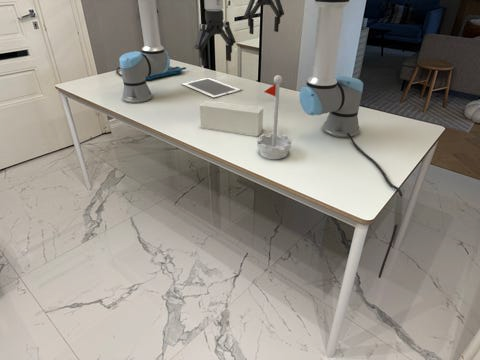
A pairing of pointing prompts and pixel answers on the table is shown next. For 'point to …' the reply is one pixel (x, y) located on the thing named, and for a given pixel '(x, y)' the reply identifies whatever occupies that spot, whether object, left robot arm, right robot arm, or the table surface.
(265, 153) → the flag stand
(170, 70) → the submachine gun
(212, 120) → the box
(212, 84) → the tablet
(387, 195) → the table surface
